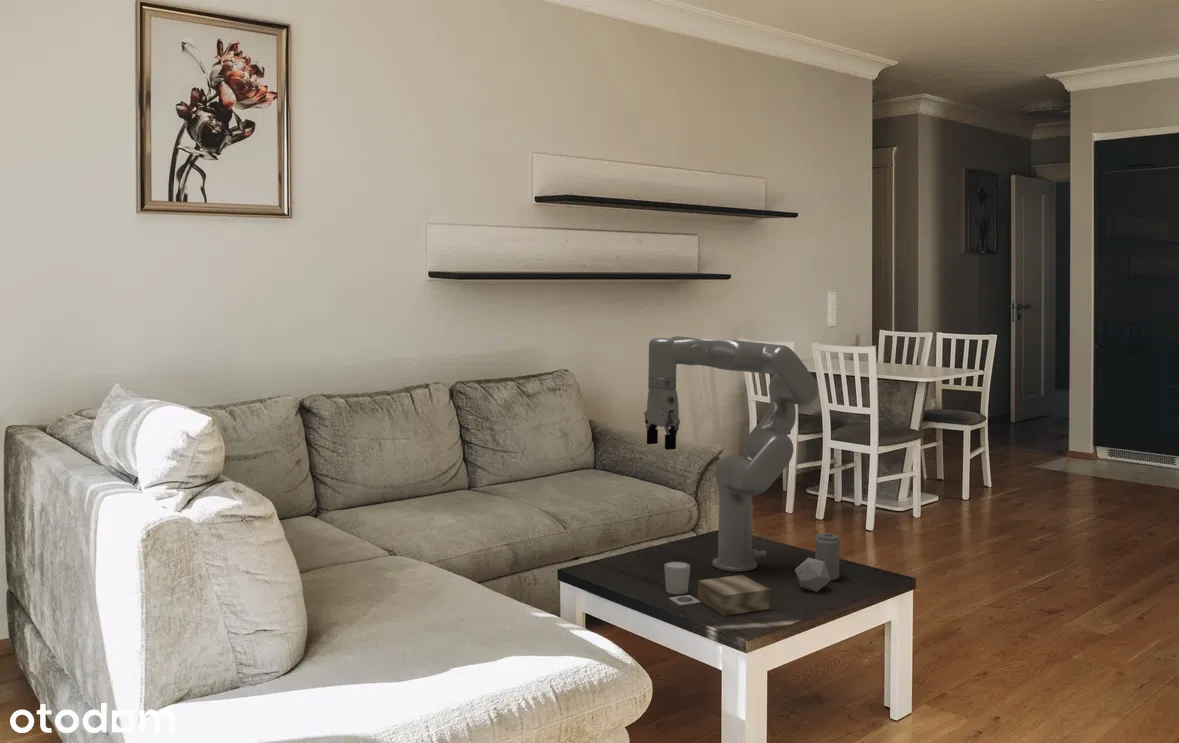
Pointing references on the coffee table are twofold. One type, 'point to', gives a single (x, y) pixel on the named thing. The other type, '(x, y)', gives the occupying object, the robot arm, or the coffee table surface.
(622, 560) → the coffee table surface
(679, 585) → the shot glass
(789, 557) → the coffee table surface
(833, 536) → the beverage can
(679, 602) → the tile
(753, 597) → the oak block
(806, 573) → the die
